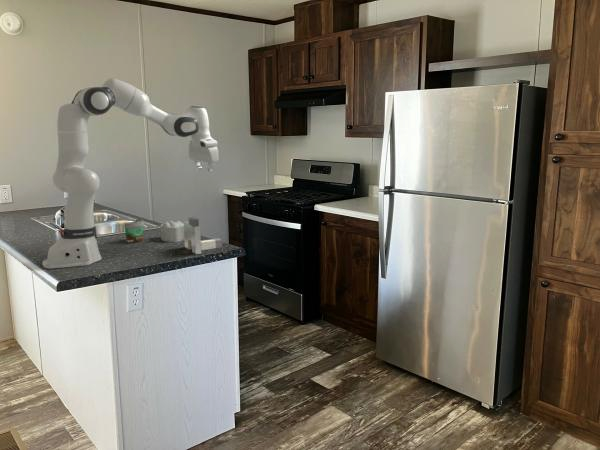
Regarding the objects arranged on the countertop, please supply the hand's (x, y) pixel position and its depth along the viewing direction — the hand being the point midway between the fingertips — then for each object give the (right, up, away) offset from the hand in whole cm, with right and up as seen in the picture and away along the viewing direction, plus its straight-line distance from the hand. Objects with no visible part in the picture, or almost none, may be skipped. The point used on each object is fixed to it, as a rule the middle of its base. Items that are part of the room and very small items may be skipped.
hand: (204, 170), depth 242 cm
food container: (-34, -34, +5) cm, 48 cm away
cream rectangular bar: (+3, -37, -10) cm, 38 cm away
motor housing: (-3, -37, -14) cm, 40 cm away
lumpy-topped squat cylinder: (-18, -33, +10) cm, 39 cm away
